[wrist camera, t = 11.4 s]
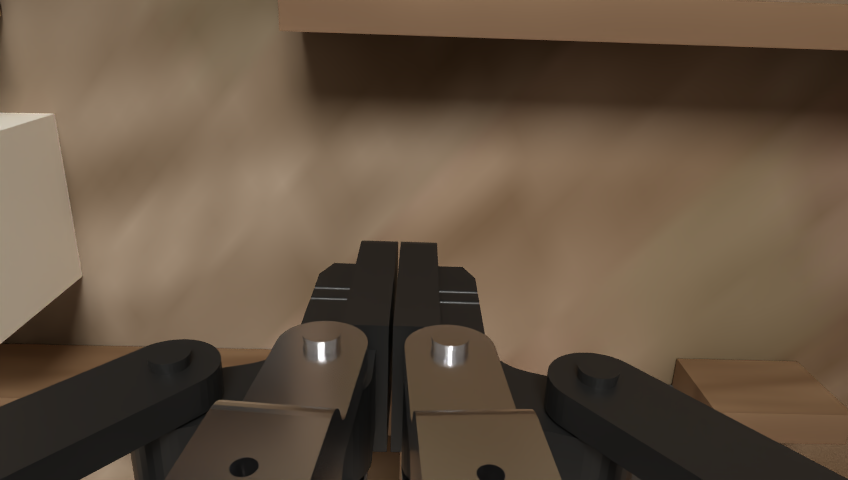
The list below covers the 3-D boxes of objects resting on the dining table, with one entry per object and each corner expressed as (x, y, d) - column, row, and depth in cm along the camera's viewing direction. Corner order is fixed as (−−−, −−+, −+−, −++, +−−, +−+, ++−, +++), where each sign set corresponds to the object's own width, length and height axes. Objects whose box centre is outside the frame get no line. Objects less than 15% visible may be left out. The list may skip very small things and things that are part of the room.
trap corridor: (-366, -318, 15) (-546, -391, 12) (958, -257, 16) (1076, -313, 13) (-109, 514, 23) (-181, 585, 20) (753, 528, 24) (798, 598, 21)
